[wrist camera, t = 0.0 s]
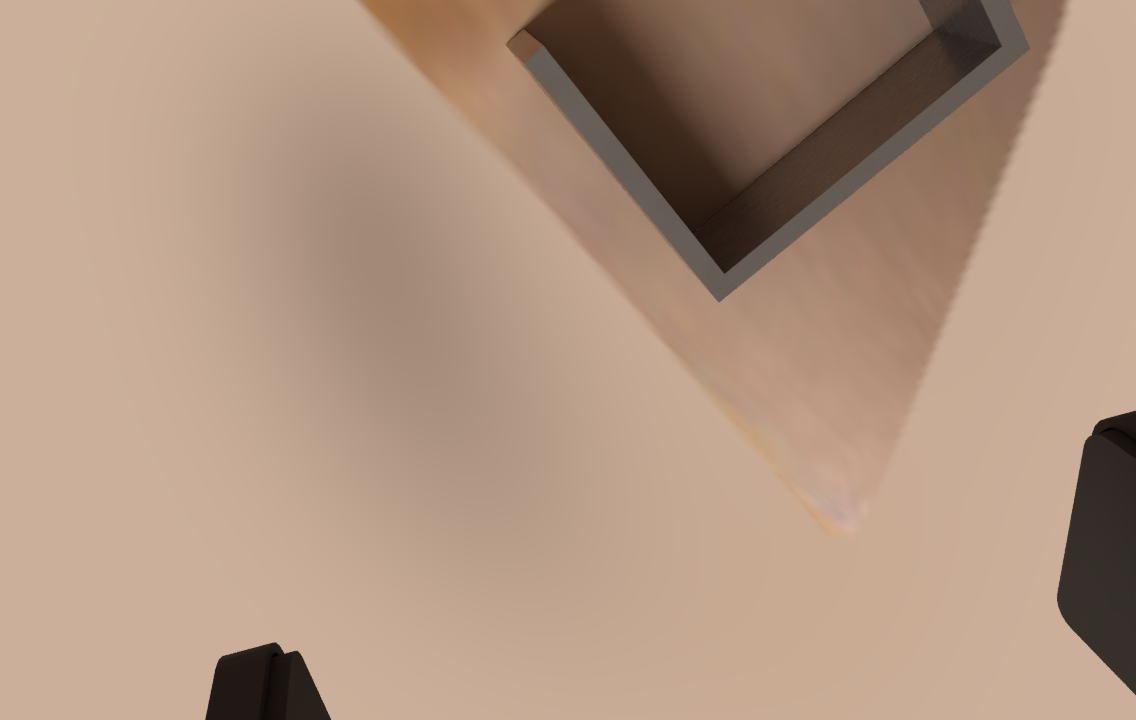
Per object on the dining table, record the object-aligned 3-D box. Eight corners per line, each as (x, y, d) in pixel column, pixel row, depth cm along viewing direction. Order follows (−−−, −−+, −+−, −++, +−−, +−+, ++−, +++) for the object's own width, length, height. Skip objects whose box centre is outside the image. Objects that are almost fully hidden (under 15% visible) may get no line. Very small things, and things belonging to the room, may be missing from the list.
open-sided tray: (505, 44, 37) (523, 63, 33) (822, -248, 34) (887, -270, 30) (684, 262, 44) (719, 302, 39) (960, 33, 41) (1030, 48, 37)
